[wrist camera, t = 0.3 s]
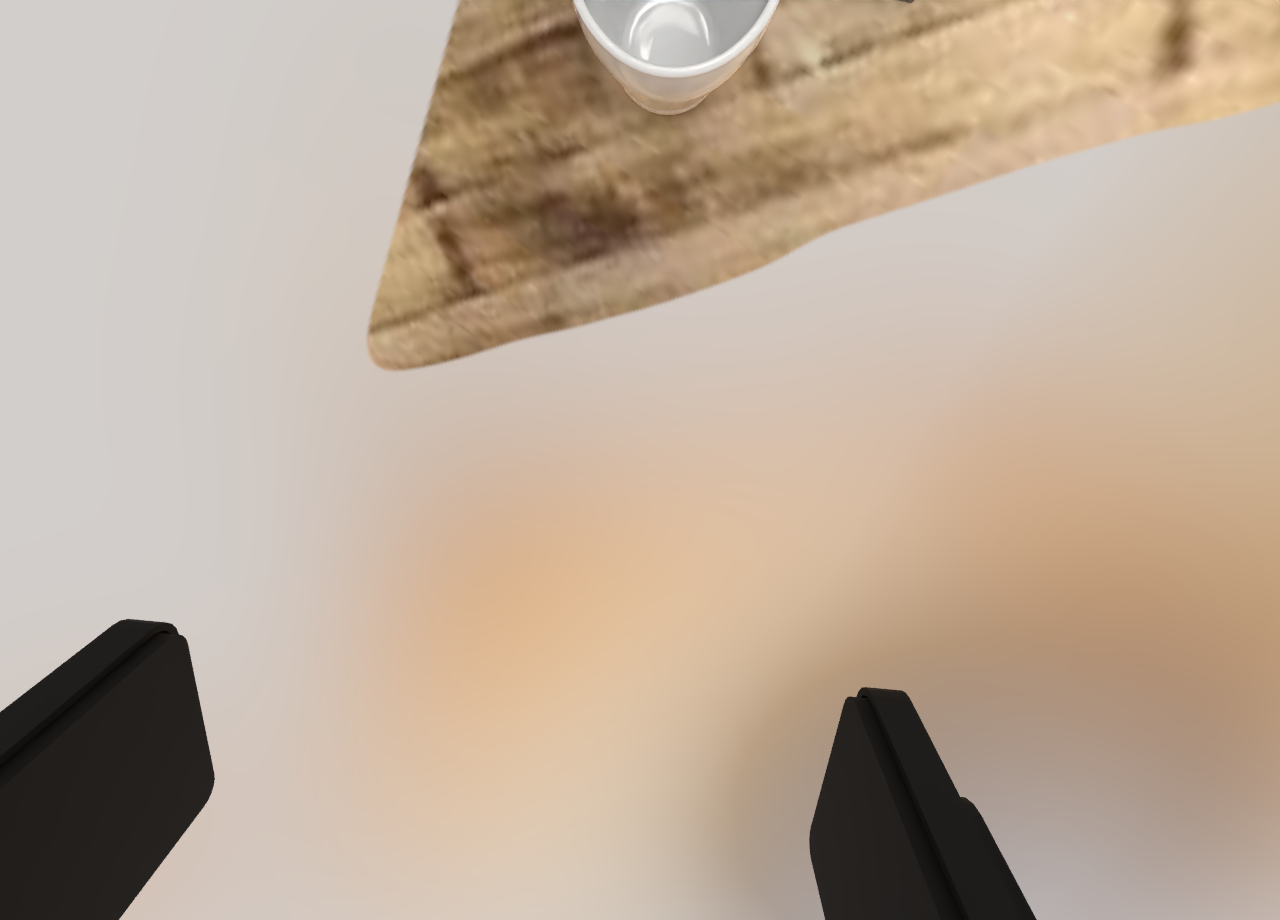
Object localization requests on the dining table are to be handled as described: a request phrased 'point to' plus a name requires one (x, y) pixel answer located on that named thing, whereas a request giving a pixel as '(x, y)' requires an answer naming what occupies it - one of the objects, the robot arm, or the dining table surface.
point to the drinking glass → (673, 45)
